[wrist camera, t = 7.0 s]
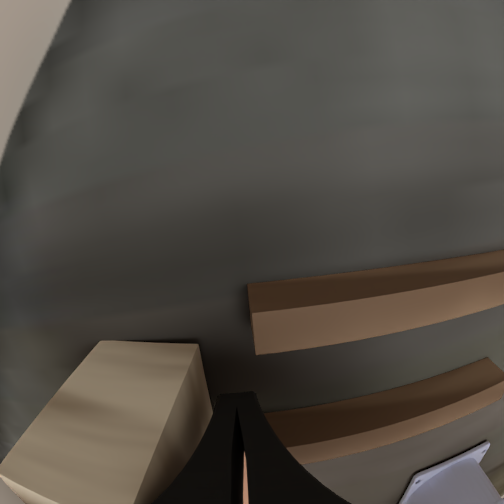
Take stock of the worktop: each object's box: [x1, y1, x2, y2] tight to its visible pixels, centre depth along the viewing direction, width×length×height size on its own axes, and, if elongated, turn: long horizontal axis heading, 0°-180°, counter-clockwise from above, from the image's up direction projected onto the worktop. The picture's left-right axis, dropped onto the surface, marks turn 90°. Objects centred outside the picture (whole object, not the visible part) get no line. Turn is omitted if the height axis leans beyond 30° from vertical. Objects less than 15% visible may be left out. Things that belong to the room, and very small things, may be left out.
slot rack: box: [247, 250, 504, 465], centre depth 13 cm, size 8×14×2 cm, turn 95°
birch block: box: [0, 340, 213, 504], centre depth 9 cm, size 4×4×8 cm
